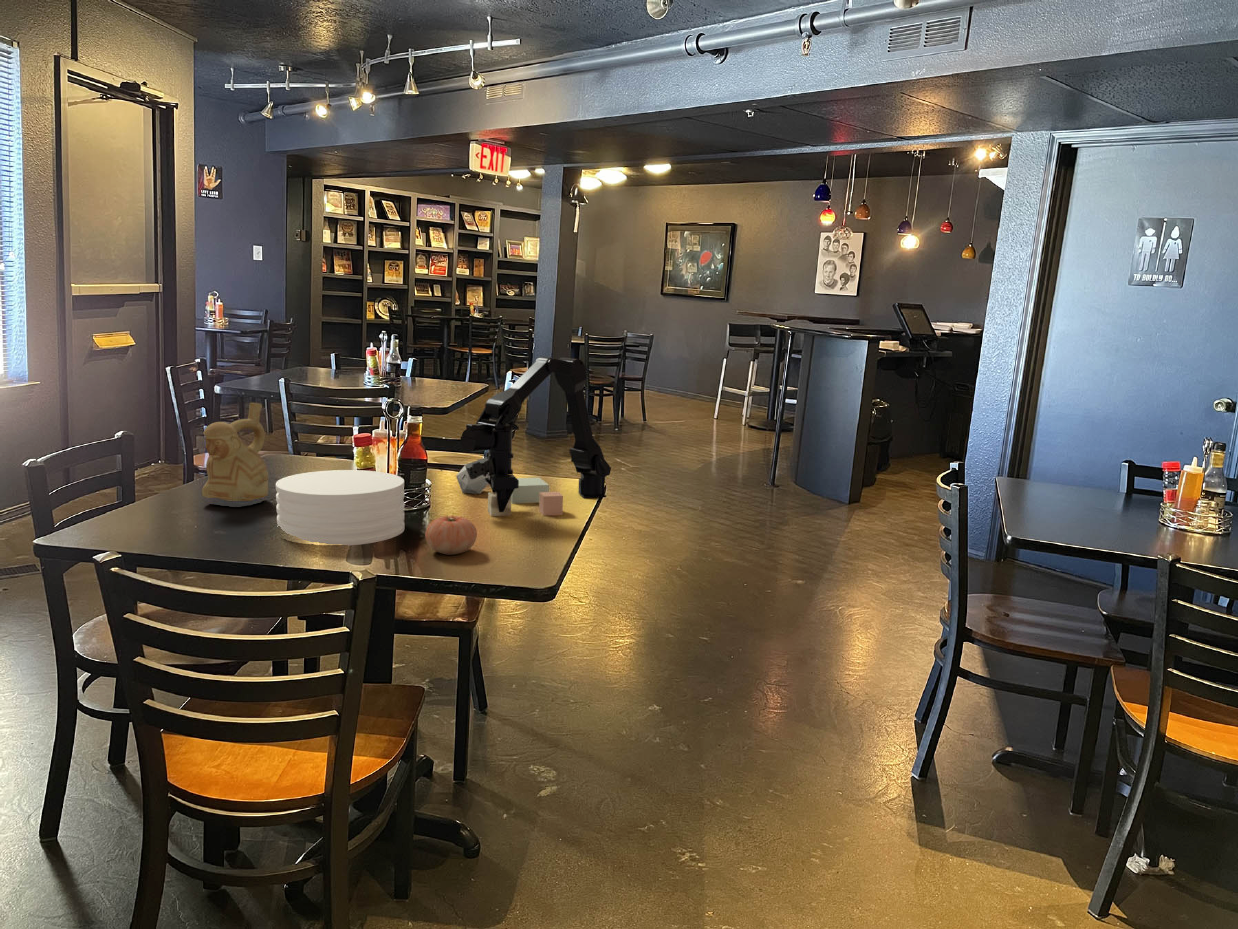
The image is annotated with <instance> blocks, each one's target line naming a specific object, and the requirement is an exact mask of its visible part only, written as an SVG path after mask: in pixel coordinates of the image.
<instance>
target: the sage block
mask: <svg viewBox="0 0 1238 929" xmlns="http://www.w3.org/2000/svg"><path fill="white" fill-rule="evenodd" d="M516 478H517V477H516ZM517 479H518V480H519V488H516V489H514V491H513V493H512V495H511V505H512V504H513V505H514V504H532V503H533V504H534V503H539V492H550V484H548V483H547V482H546V481H545V480H543V479H542V478H541V477H519V478H517Z"/></svg>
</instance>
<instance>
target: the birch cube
mask: <svg viewBox="0 0 1238 929" xmlns="http://www.w3.org/2000/svg"><path fill="white" fill-rule="evenodd" d="M487 512H488V514H489V515H490V517H508V516H512V503H511V497H510V499H509V501H508V503H507V505H506V508H505V510H504V512H499V508H498V502H497V496H496V492H492V491H491V492H490V491H489V492H488V493H487Z"/></svg>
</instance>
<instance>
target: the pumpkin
mask: <svg viewBox="0 0 1238 929" xmlns="http://www.w3.org/2000/svg"><path fill="white" fill-rule="evenodd" d="M477 531H478V530H477V528H476V526H475V524H474V523H473V522H472V521H470V520H469V519H468V518H465V517H462V516H458V515H456V516H454V515H451V516H448V515H446V516H441V517H438V518H435V519H433V520H432V521H431V522H430V523H429V524H428V525H427V527H426V530H425V533H424V535H425V536H424V537H425V541H426V543H427V544H428V546H429V547H430V548H431V549H432V550H433V551H435V552H436V553H440V554H443V555H449V556H450V555H453V556H454V555H459V554H462V553H465V552H466V551H468V550H470V549H471V548H472V547H473V546H474V545H475V543H476V541H477V538H478V532H477Z"/></svg>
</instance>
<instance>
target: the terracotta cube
mask: <svg viewBox="0 0 1238 929" xmlns="http://www.w3.org/2000/svg"><path fill="white" fill-rule="evenodd" d="M563 504H564V496H563V495H562V493H561V492H560V491H549V492H539V502H538V512H539V513H541V515H542V516H562V515H563V508H564V507H563V506H564V505H563Z"/></svg>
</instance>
